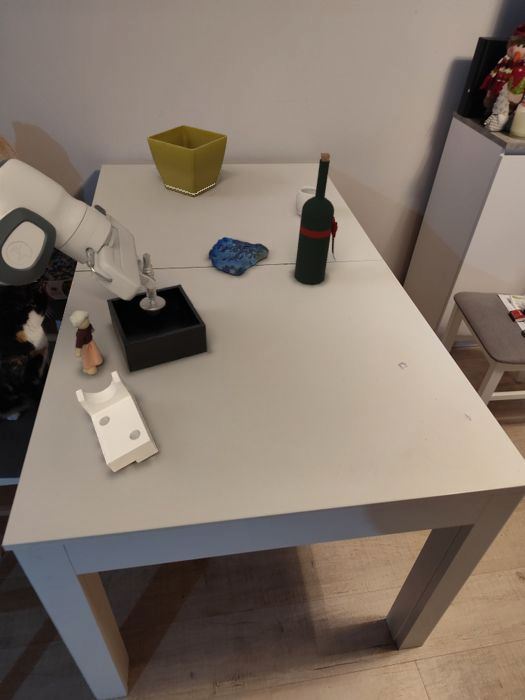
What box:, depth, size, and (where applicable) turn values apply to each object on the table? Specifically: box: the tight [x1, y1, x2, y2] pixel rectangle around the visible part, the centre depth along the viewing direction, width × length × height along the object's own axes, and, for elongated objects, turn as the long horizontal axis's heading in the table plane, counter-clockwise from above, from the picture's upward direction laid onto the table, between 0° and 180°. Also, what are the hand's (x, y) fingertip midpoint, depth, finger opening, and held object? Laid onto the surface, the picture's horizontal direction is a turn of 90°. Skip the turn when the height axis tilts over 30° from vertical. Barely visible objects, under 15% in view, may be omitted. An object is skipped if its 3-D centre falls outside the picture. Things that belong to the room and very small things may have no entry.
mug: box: [295, 185, 316, 217], centre depth 141 cm, size 12×8×8 cm
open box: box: [106, 284, 208, 373], centre depth 90 cm, size 16×16×7 cm
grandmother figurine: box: [69, 309, 104, 376], centre depth 81 cm, size 8×4×13 cm, turn 8°
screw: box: [140, 252, 165, 316], centre depth 84 cm, size 13×5×5 cm
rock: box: [208, 236, 270, 276], centre depth 119 cm, size 15×17×2 cm
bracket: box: [75, 370, 159, 473], centre depth 71 cm, size 13×7×8 cm, turn 29°
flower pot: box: [146, 124, 228, 198], centre depth 149 cm, size 19×19×17 cm
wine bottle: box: [293, 152, 339, 286], centre depth 104 cm, size 8×10×30 cm
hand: (152, 280), depth 83 cm, fingers closed on screw, 2 cm apart
